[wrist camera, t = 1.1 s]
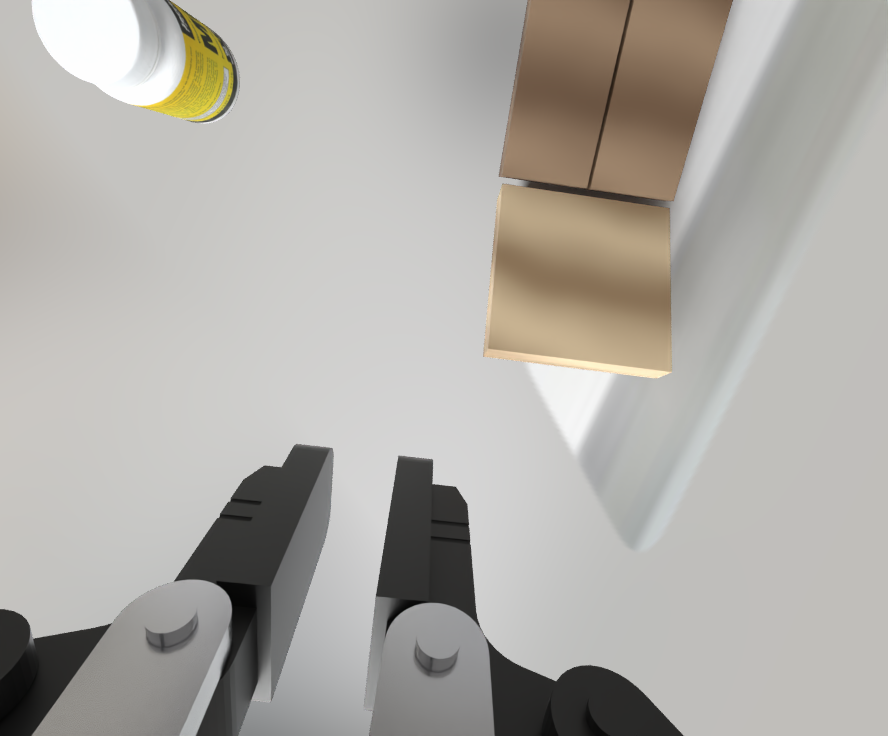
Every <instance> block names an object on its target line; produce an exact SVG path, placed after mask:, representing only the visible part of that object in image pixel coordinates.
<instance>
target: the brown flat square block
mask: <svg viewBox="0 0 888 736" xmlns="http://www.w3.org/2000/svg"><path fill="white" fill-rule="evenodd" d="M732 2H733V0H528V2H527V8H526V14H525V20H524V27H523V32H522V38H521V44H520V50H519V57H518V62H517V69H516V75H515V81H514V87H513V93H512V99H511V105H510V111H509V117H508V123H507V129H506V135H505V141H504V147H503V153H502V160H501V166H500V172H499V177H506V178H513V179H519V180H526V181H533V182H539V183H546V184H553V185H560V186H566V187H573V188H582V189H587V190H593V191H600V192H607V193H614V194H620V195H627V196H634V197H641V198H648V199H654V200H661V201H674V198H675V194H676V191H677V187H678V184H679V181H680V177H681V174H682V170H683V167H684V164H685V160H686V157H687V154H688V150H689V147H690V143H691V140H692V137H693V133H694V130H695V127H696V123H697V120H698V116H699V113H700V110H701V106H702V103H703V100H704V96H705V93H706V89H707V86H708V83H709V79H710V76H711V73H712V69H713V66H714V62H715V59H716V56H717V52H718V49H719V45H720V42H721V39H722V35H723V32H724V29H725V25H726V22H727V18H728V15H729V12H730V8H731V5H732Z"/></svg>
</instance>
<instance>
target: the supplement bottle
mask: <svg viewBox="0 0 888 736" xmlns="http://www.w3.org/2000/svg"><path fill="white" fill-rule="evenodd" d="M32 12H33V18H34V22H35V26H36V29H37V32H38V34H39V36H40V38H41V40H42V42H43V44H44V46H45V47H46V49H47V50H48V52H49V53H50V54H51V56H52V57H53V58H54V59H55V60H56V61H57V62H58V63H59V64H60V65H61V66H62V67H63V68H64V69H66V70H67V71H68V72H70V73H71V74H73V75H75V76H76V77H78V78H80V79H82V80H85V81H88V82H90V83H93V84H95V85H97V86H98V87H99V88H100V89H101V90H103V91H104V92H106V93H107V94H109V95H110V96H112V97H114V98H116V99H118V100H120V101H123V102H125V103H128V104H131V105H135V106H139V107H143V108H146V109H150V110H153V111H157V112H160V113H164V114H167V115H171V116H173V117H177V118H180V119H184V120H187V121H191V122H195V123H212V122H215V121H218V120H220V119H222V118H223V117H225V116H226V115H227V114H228V113H229V112H230V111H231V110H232V108H233V107H234V105H235V103H236V100H237V97H238V93H239V87H240V78H239V71H238V67H237V63H236V61H235V58H234V56H233V54H232V52H231V50H230V49H229V47H228V46H227V44H226V43H225V42H224V41H223V40H222V39H221V37H219V36H218V35H217V34H216V33H215V32H214V31H212V30H211V29H210V28H208V27H207V26H205V25H204V24H203V23H201V22H200V21H198V20H197V19H195V18H194V17H192V16H191V15H190V14H188V13H187V12H186V11H184V10H183V9H181V8H180V7H178V6H177V5H176V4H174V3H173V2H171V1H170V0H32Z"/></svg>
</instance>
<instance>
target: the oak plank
mask: <svg viewBox="0 0 888 736" xmlns="http://www.w3.org/2000/svg"><path fill="white" fill-rule="evenodd" d="M483 356H484V357H492V358H499V359H508V360H515V361H523V362H531V363H538V364H546V365H554V366H562V367H570V368H578V369H586V370H594V371H602V372H610V373H617V374H625V375H633V376H641V377H649V378H659V377H661V376H664V375H666V374H669V373H671V372H672V352H671V278H670V208H664V207H658V206H651V205H644V204H637V203H630V202H624V201H617V200H610V199H603V198H596V197H590V196H583V195H576V194H569V193H563V192H556V191H549V190H542V189H535V188H529V187H522V186H515V185H508V184H502V187H501V190H500V193H499V196H498V199H497V209H496V220H495V231H494V243H493V253H492V265H491V275H490V286H489V298H488V308H487V320H486V331H485V342H484V354H483Z"/></svg>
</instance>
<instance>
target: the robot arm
mask: <svg viewBox="0 0 888 736" xmlns="http://www.w3.org/2000/svg"><path fill="white" fill-rule="evenodd" d="M332 474H333V449H332V448H326V447H319V446H310V445H301V444H296V445H295V446H294V447H293V449H292V450H291V452H290V454H289V455H288V457H287V459H286V461H285V462H284V464H283V466H282V467H273V466H263V467H262V468H260V469H259V470H257V471H256V472H254V473H253V474H251V475H250V476H248V477H247V478H245V479H244V480H243V481H242V483H241V484H240V486H239V487H238V489H237V490H236V491H235V493H234V494H233V496H232V497H231V501H230V502H228V503H227V505H226V506H225V508H224V509H223V511H222V512H221V513H220V517H219V518H217V519H216V521H215V522H214V524H213V525H212V527H211V528H210V530H209V531H208V532H207V534H206V535H205V537H204V538H203V540H202V541H201V543H200V544H199V546H198V547H197V548H196V550H195V552H194V553H193V554H192V556H191V557H190V559H189V560H188V562H187V563H186V565H185V566H184V568H183V569H182V570H181V572H180V573H179V575H178V576H177V578H176V579H175V581H174V582H172V583H167V584H165V585H162V586H159V587H157V588H154V589H152V590H150V591H148V592H146V593H145V594H143V595H141V596H140V597H138V598H137V599H135V600H134V601H133V602H131V603H130V604H129V605H128V606H127V607H126V608H125V609H124V610H122V611H121V613H120V614H119V615H118V616H117V617H116V619H115V620H114V621H113V623H111V624H108V625H105V626H100V627H96V628H91V629H86V630H80V631H74V632H69V633H63V634H58V635H52V636H47V637H41V638H35V639H33V637H32V633H31V629H30V625H29V623H28V622H27V620H26V619H25V618H24V617H23V616H22V615H20V614H18V613H16V612H14V611H9V610H5V609H0V736H238V734H239V732H240V729H241V726H242V724H243V721H244V718H245V715H246V713H247V710H248V708H249V705H250V702H251V701H262V702H271V701H272V698H273V695H274V691H275V689H276V686H277V683H278V680H279V677H280V674H281V671H282V668H283V665H284V662H285V659H286V655H287V653H288V650H289V647H290V644H291V641H292V638H293V635H294V632H295V629H296V625H297V623H298V620H299V617H300V614H301V610H302V608H303V605H304V601H305V599H306V596H307V593H308V589H309V586H310V584H311V580H312V577H313V574H314V572H315V569H316V566H317V562H318V559H319V556H320V553H321V550H322V547H323V544H324V541H325V538H326V533H327V529H328V524H329V517H330V509H331V492H332ZM432 476H433V460H432V459H424V458H423V459H422V458H415V457H406V456H398V462H397V469H396V475H395V482H394V487H393V493H392V500H391V506H390V512H389V518H388V525H387V531H386V537H385V543H384V549H383V556H382V562H381V568H380V574H379V580H378V587H377V593H376V600H375V609H374V618H373V627H372V638H371V646H370V655H369V664H368V674H367V683H366V692H365V701H364V710H368V711H373V714H372V720H371V726H370V732H369V736H683V735H682V734H681V732H680V731H679V730H678V729H677V728H676V727H675V726H674V725H673V724H672V723H671V722H670V721H669V720H668V719H667V718H666V717H665V716H664V714H663V713H662V712H661V711H660V710H659V709H658V708H657V707H656V706H655V705H654V704H653V703H652V702H651V701H650V699H649V698H648V697H646V695H645V694H644V693H643V692H642V691H641V690H639V688H637V687H636V686H635V685H634V684H633V683H631V682H630V681H629V680H627V679H626V678H624V677H622V676H621V675H619V674H617V673H615V672H613V671H611V670H608V669H605V668H602V667H597V666H591V665H590V666H589V665H588V666H578V667H574V668H572V669H570V670H567V671H566V672H565V673H563V674H562V675H561V676H560V677H559V679H558V680H557V681H554V680H552V679H549V678H547V677H545V676H542V675H540V674H537V673H535V672H533V671H530V670H528V669H526V668H523V667H521V666H519V665H517V664H515V663H513V662H512V661H510V660H509V659H507V658H505V657H504V656H503V655H502V654H501V653H499V652H498V651H497V650H496V649H495V648H494V647H493V646H492V645H491V643H490V642H489V641H488V639H487V638H486V637H485V635H484V633H483V632H482V630H481V628H480V625H479V622H478V619H477V614H476V606H475V593H474V581H473V568H472V556H471V545H470V533H469V526H468V525H469V520H468V508H467V503H466V502H465V500H464V499H463V497H462V496H461V494H460V493H459V491H458V489H457V488H456V487H453V486H443V485H435V484H432V479H433V478H432Z"/></svg>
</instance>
